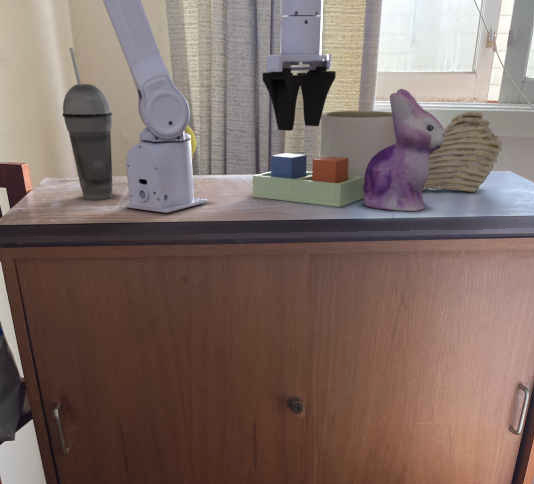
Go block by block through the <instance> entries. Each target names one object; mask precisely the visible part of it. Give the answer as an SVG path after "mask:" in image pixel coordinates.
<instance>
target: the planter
mask: <svg viewBox="0 0 534 484" xmlns="http://www.w3.org/2000/svg"><path fill="white" fill-rule="evenodd" d="M319 136H320V137H319V139H320V140H319V158H320V157H325V156H329V157H342V158H349V161H348V175H351V176H360V177H361V176H362V177H365V172H366V168H367V166H368V164H369V162H370V160H371V159H372V157H373V156H374V155H376V154H377V153H378V152H380V151H381V150H383V149H385V148H387V147H389V146H391V145H394V144H395V143H396V138H395V131H394V124H393V117H392V111H382V110H381V111H380V110H338V111H327V112H322V116H321V120H320V135H319Z"/></svg>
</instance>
